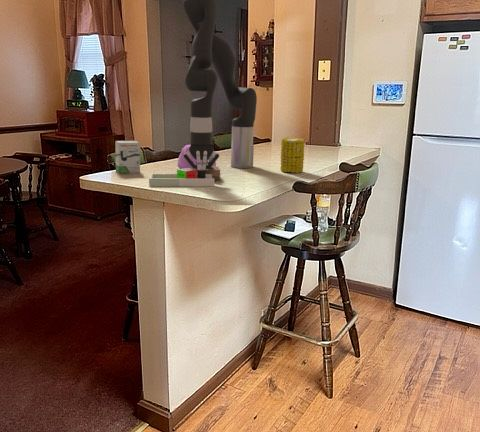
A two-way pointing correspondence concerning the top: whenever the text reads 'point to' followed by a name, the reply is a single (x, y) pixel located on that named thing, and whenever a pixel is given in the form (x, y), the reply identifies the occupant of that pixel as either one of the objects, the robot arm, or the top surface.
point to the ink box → (127, 156)
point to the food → (292, 155)
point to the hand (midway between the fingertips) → (201, 180)
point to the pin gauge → (209, 160)
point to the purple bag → (183, 162)
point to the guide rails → (197, 181)
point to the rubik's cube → (186, 173)
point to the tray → (163, 180)
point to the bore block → (214, 172)
